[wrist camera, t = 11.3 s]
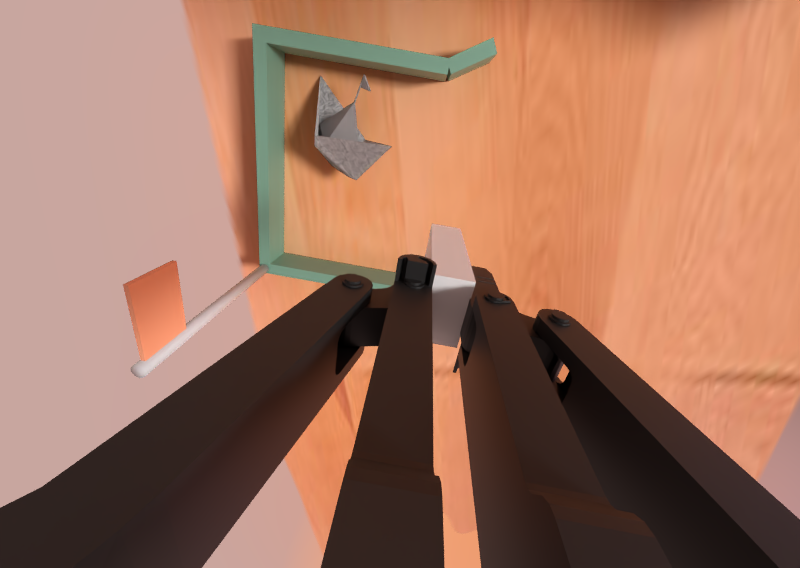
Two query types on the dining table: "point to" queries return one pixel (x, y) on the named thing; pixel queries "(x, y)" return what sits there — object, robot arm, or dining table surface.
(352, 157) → the paper boat
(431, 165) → the dining table surface
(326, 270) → the green u-shaped frame
